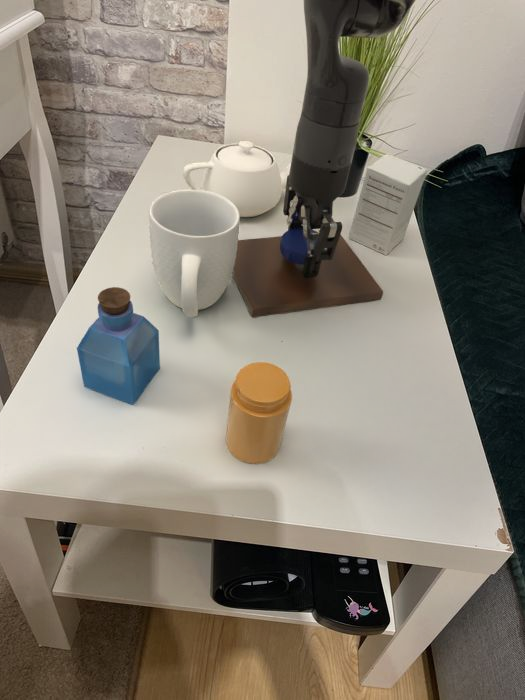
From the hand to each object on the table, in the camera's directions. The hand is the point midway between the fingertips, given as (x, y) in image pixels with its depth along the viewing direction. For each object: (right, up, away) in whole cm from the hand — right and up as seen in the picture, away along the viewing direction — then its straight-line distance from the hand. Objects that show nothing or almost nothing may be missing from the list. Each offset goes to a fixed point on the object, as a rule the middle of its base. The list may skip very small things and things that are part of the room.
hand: (300, 261), depth 77 cm
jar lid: (0, +2, -2) cm, 3 cm away
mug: (-15, -6, -5) cm, 17 cm away
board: (0, -2, +2) cm, 2 cm away
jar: (-7, -23, -21) cm, 31 cm away
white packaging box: (+13, +6, +11) cm, 19 cm away
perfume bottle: (-22, -16, -16) cm, 32 cm away
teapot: (-9, +13, +15) cm, 21 cm away
